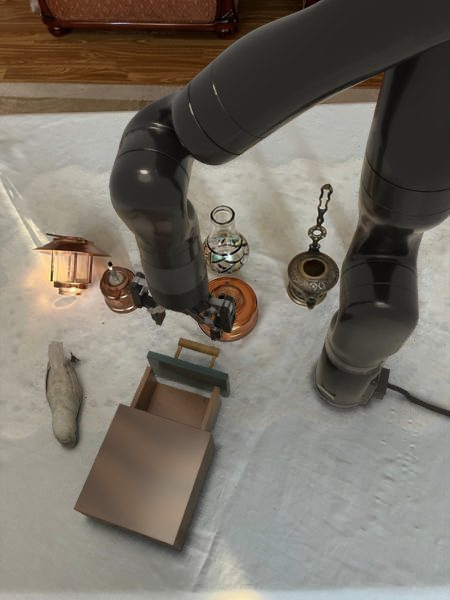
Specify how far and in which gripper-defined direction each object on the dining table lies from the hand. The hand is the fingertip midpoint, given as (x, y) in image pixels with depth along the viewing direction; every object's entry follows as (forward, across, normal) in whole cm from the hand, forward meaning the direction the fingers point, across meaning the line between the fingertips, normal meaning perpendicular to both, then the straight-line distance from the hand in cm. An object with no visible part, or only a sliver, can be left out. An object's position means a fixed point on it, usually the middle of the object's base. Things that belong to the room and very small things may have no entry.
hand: (188, 327), depth 77 cm
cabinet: (+16, 0, -20) cm, 26 cm away
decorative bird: (+16, -19, -12) cm, 28 cm away
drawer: (+15, 0, -7) cm, 17 cm away
